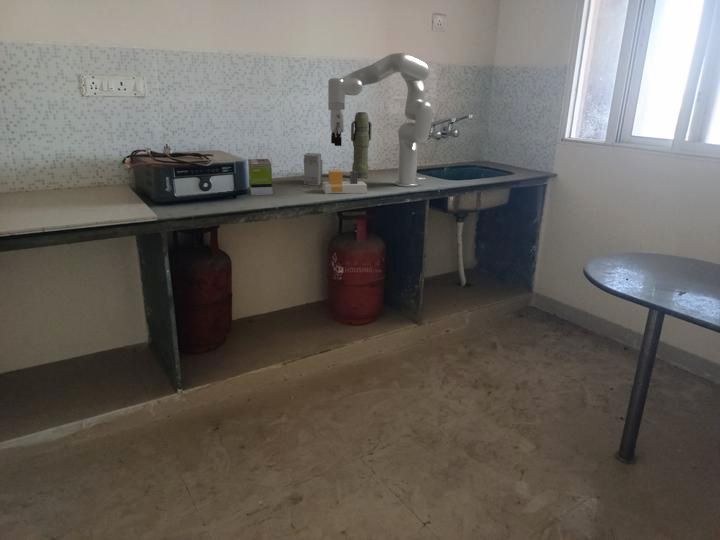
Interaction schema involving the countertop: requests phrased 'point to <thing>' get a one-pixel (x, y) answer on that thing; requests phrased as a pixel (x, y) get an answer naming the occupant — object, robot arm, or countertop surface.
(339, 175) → the orange cube
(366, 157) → the thermos
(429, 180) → the countertop surface
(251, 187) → the tea box
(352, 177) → the plain toggle
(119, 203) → the countertop surface
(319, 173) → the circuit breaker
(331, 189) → the breaker panel
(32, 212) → the countertop surface
